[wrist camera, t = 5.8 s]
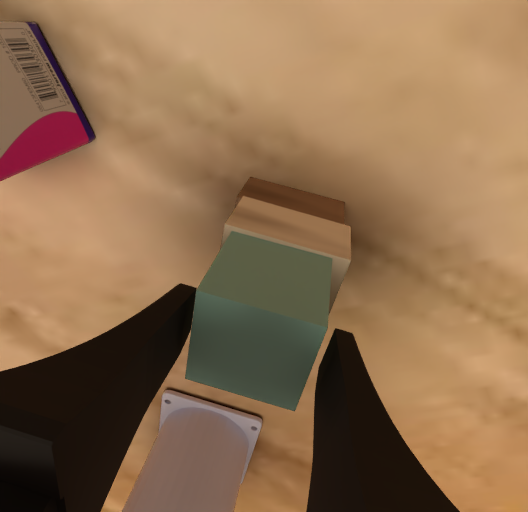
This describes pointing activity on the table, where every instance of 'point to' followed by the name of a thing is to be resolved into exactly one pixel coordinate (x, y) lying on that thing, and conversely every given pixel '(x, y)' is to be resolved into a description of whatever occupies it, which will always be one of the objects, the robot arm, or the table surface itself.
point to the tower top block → (294, 234)
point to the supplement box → (34, 102)
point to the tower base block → (293, 199)
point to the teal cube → (260, 320)
